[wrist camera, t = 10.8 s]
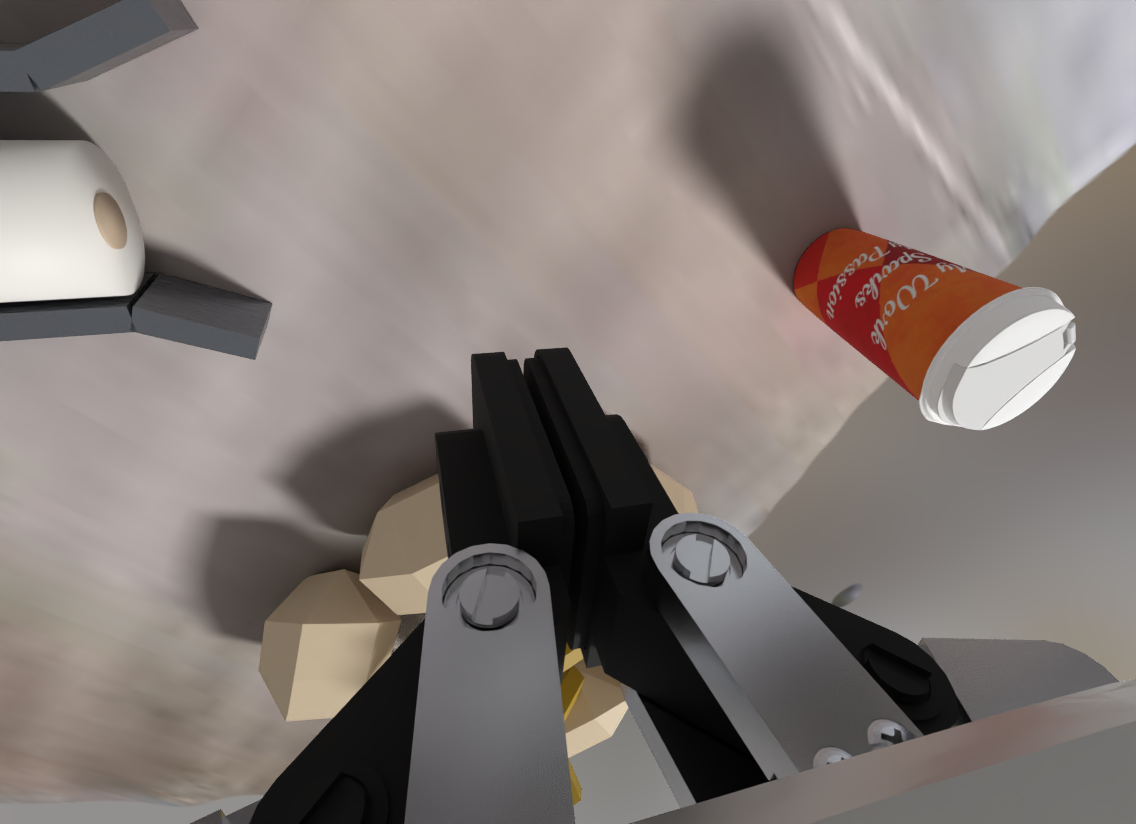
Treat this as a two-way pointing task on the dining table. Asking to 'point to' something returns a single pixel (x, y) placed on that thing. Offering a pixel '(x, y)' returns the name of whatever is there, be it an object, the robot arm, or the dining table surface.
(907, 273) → the paper cup
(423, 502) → the campfire
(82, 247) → the roll
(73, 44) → the holder
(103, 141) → the dining table surface
